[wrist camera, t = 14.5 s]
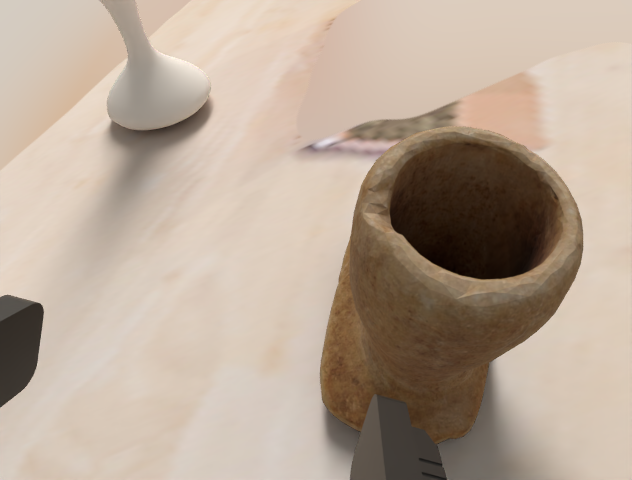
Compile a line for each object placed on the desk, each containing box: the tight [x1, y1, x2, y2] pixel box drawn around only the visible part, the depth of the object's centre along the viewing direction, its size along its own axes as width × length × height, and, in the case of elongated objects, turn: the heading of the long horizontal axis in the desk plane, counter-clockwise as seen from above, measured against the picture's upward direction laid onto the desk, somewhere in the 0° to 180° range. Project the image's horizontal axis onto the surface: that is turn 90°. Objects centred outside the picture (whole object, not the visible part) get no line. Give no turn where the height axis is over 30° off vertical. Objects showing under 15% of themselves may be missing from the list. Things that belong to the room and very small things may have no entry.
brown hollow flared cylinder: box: [320, 127, 583, 444], centre depth 26 cm, size 15×12×15 cm
